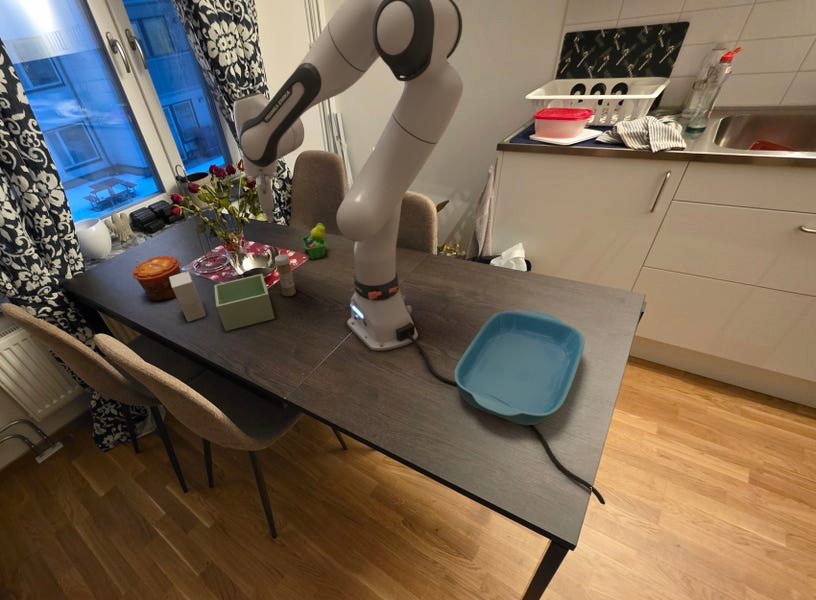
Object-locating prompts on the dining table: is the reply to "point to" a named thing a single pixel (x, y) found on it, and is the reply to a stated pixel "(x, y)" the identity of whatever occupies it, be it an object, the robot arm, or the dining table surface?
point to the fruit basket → (316, 242)
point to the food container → (157, 276)
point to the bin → (243, 302)
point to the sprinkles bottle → (285, 274)
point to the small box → (187, 296)
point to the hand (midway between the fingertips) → (269, 214)
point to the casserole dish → (520, 366)
